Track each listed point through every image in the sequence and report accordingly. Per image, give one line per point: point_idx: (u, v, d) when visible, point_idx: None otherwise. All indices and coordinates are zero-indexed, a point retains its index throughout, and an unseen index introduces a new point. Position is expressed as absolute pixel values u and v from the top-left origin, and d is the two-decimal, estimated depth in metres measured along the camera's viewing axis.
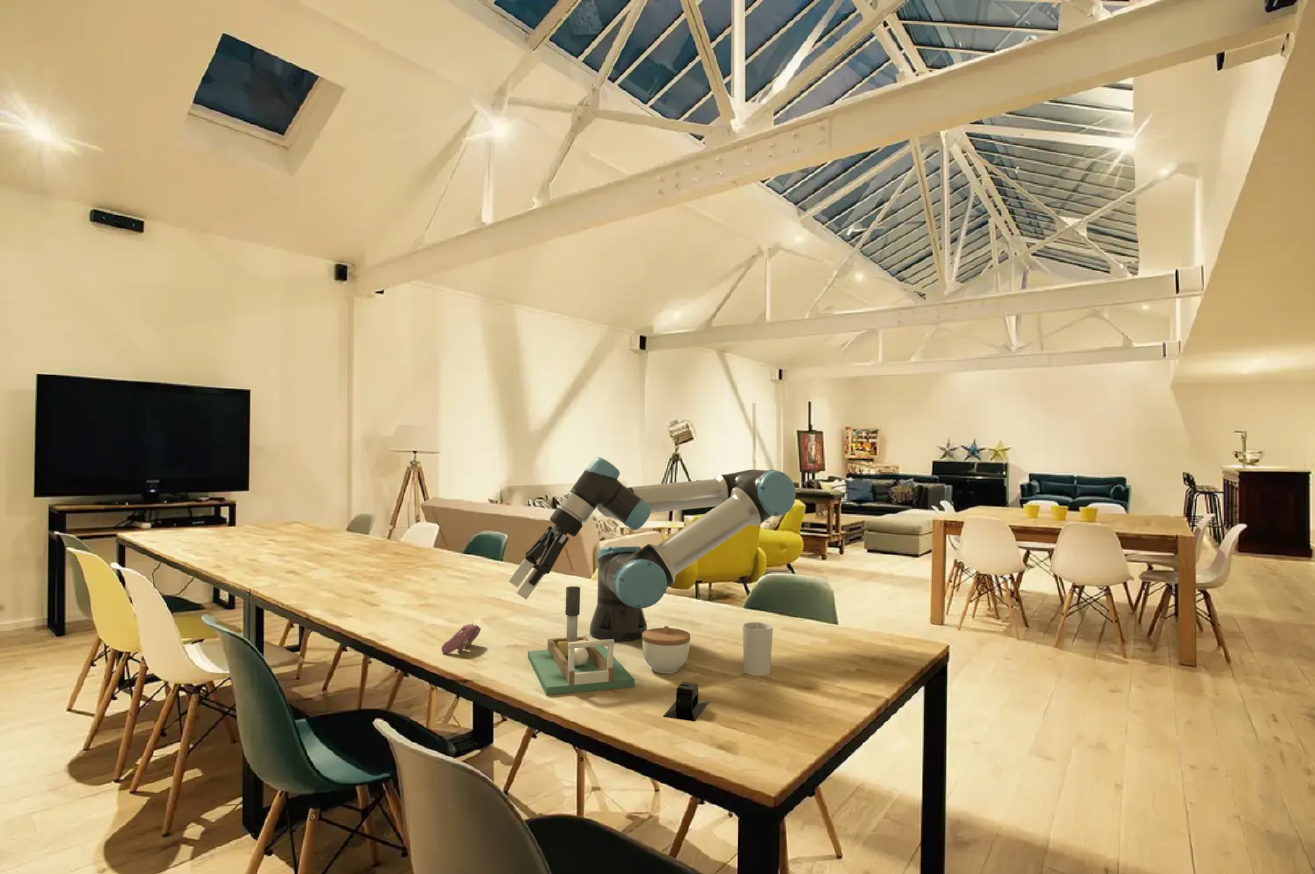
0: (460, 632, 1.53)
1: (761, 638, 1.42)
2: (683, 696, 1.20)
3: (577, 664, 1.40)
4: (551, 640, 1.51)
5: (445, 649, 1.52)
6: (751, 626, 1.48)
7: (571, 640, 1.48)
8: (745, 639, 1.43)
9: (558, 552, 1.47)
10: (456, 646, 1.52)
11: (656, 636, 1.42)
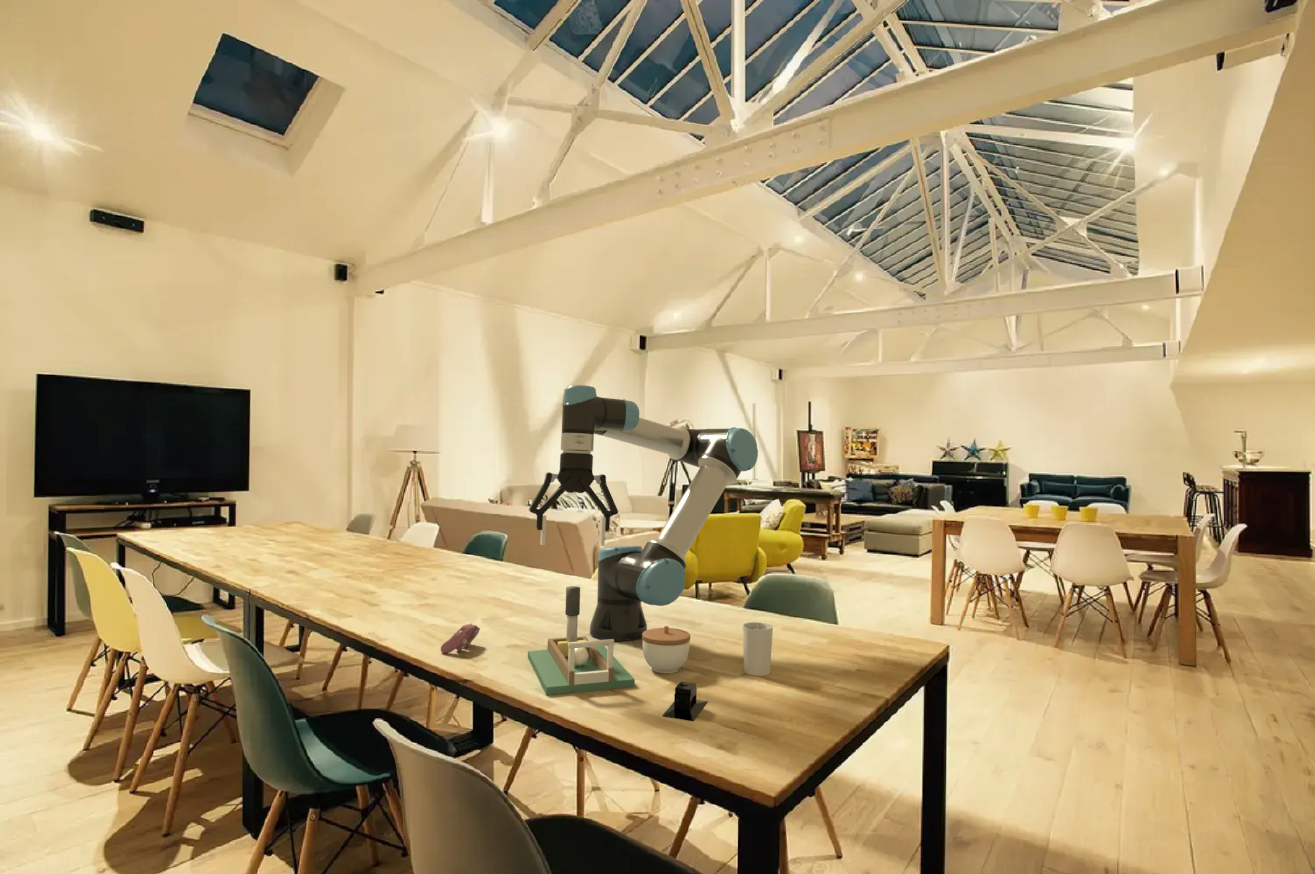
0: (459, 632, 1.53)
1: (760, 638, 1.42)
2: (681, 696, 1.20)
3: (577, 664, 1.40)
4: (551, 640, 1.51)
5: (444, 649, 1.52)
6: (751, 626, 1.48)
7: (571, 640, 1.48)
8: (745, 639, 1.43)
9: None
10: (455, 646, 1.52)
11: (656, 636, 1.42)
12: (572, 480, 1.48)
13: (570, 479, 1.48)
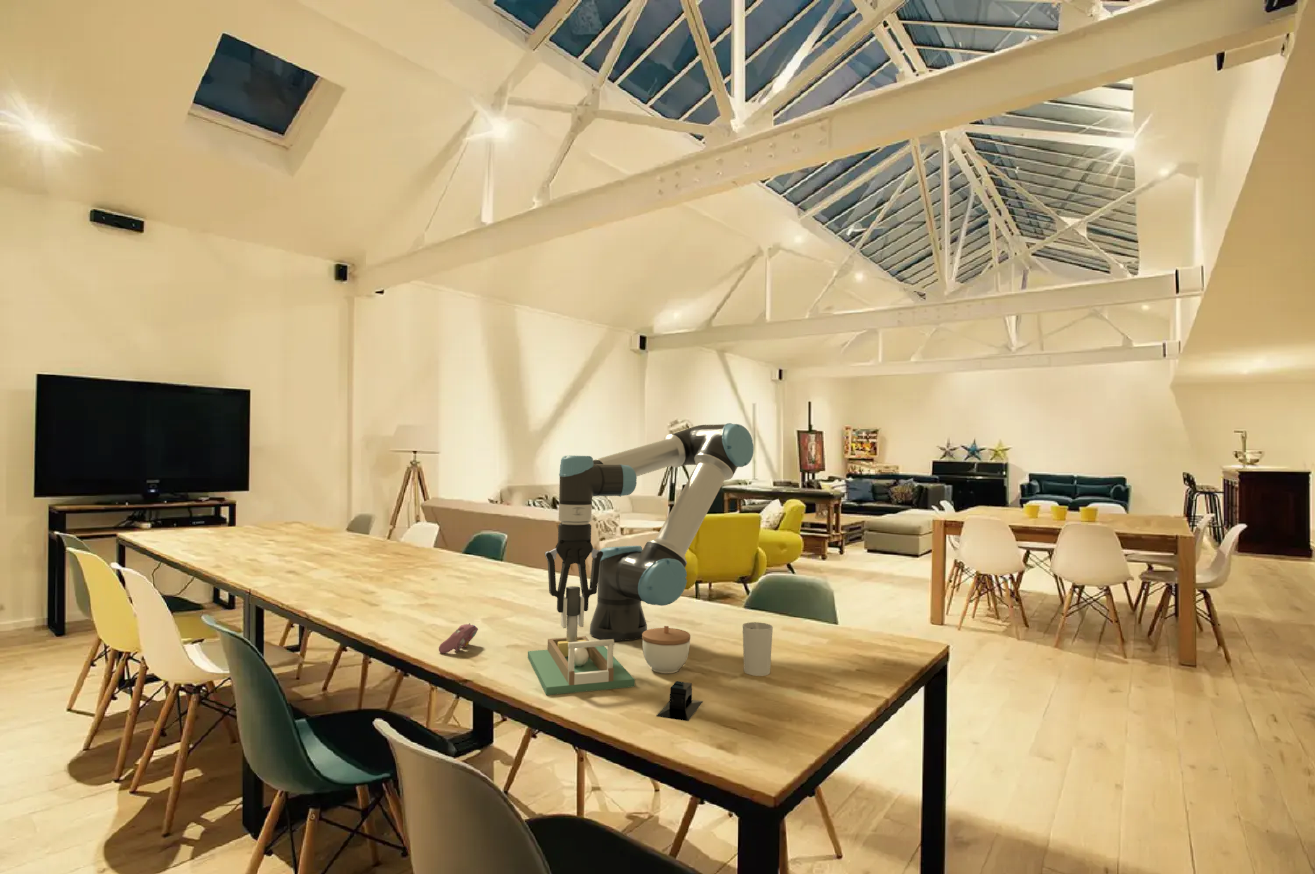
0: (457, 632, 1.53)
1: (760, 638, 1.42)
2: (676, 696, 1.20)
3: (577, 664, 1.40)
4: (551, 640, 1.51)
5: (442, 649, 1.52)
6: (751, 626, 1.48)
7: (571, 640, 1.48)
8: (745, 639, 1.43)
9: None
10: (453, 646, 1.52)
11: (656, 636, 1.42)
12: (571, 551, 1.47)
13: (569, 551, 1.47)
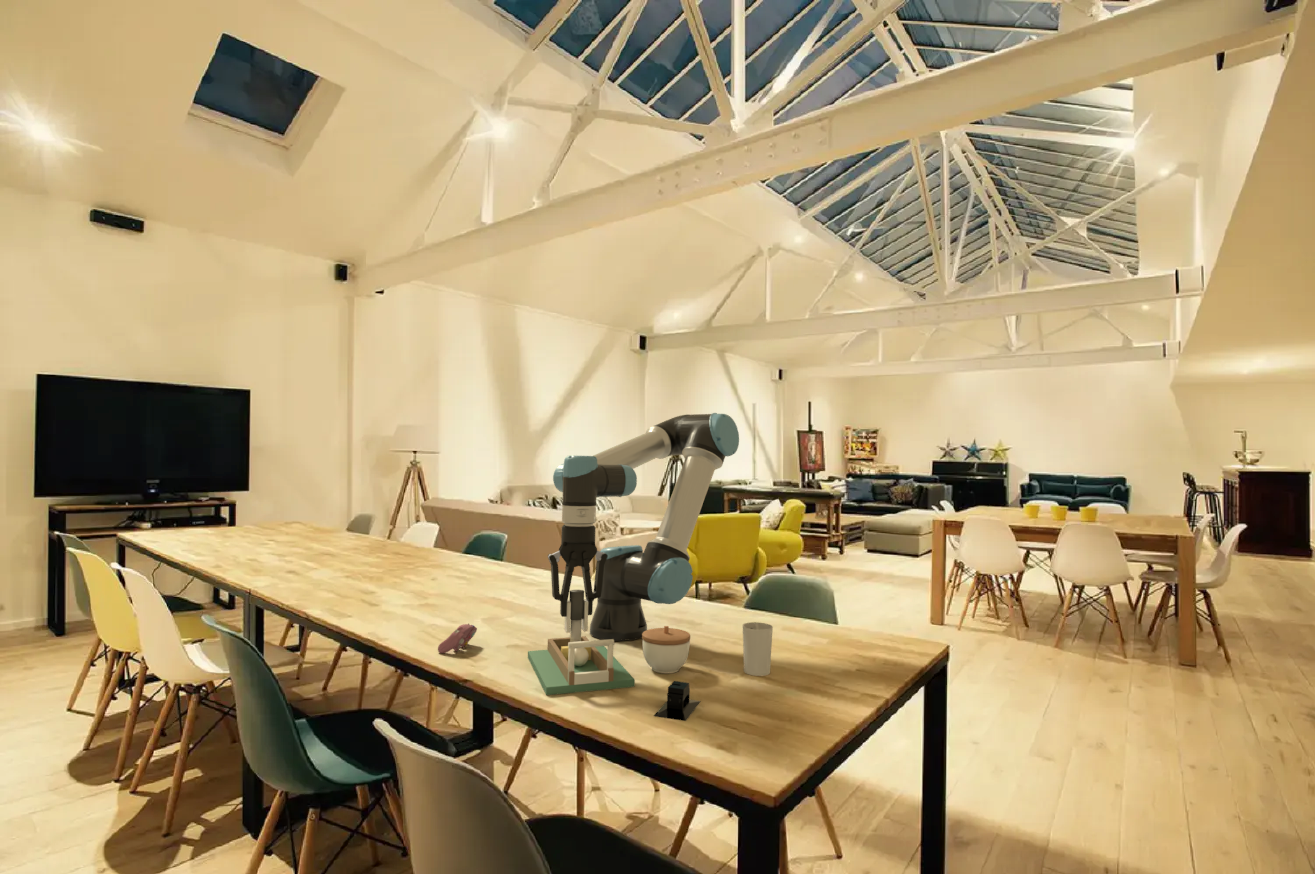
0: (456, 632, 1.53)
1: (760, 638, 1.42)
2: (674, 695, 1.20)
3: (577, 664, 1.40)
4: (551, 640, 1.51)
5: (441, 649, 1.52)
6: (751, 626, 1.48)
7: None
8: (745, 639, 1.43)
9: None
10: (452, 646, 1.52)
11: (656, 636, 1.42)
12: (575, 554, 1.44)
13: (572, 554, 1.43)
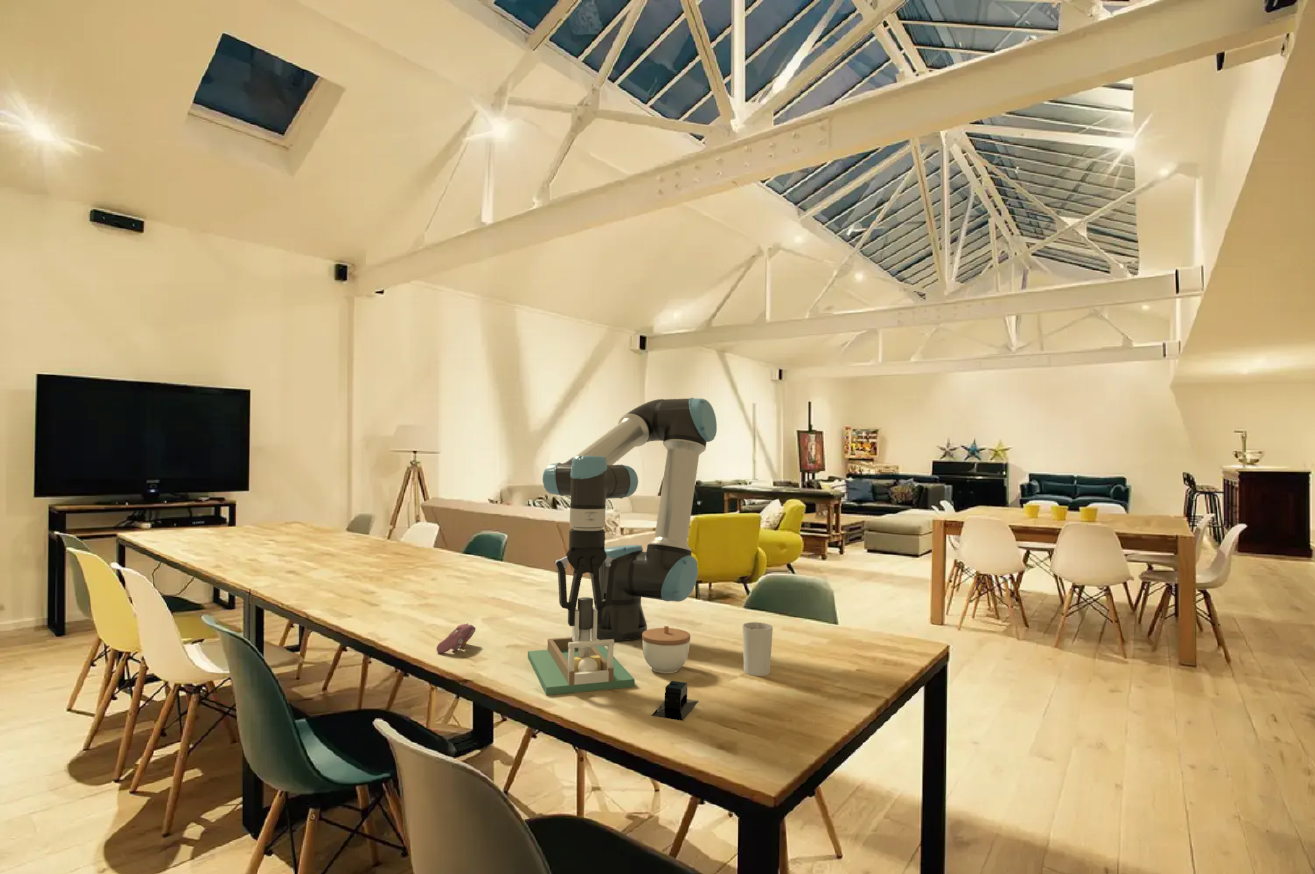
0: (455, 632, 1.53)
1: (760, 638, 1.42)
2: (671, 695, 1.20)
3: (585, 658, 1.33)
4: (551, 640, 1.51)
5: (440, 649, 1.52)
6: (751, 626, 1.48)
7: (583, 656, 1.36)
8: (745, 639, 1.43)
9: None
10: (451, 646, 1.52)
11: (656, 636, 1.42)
12: (583, 560, 1.36)
13: (581, 560, 1.35)
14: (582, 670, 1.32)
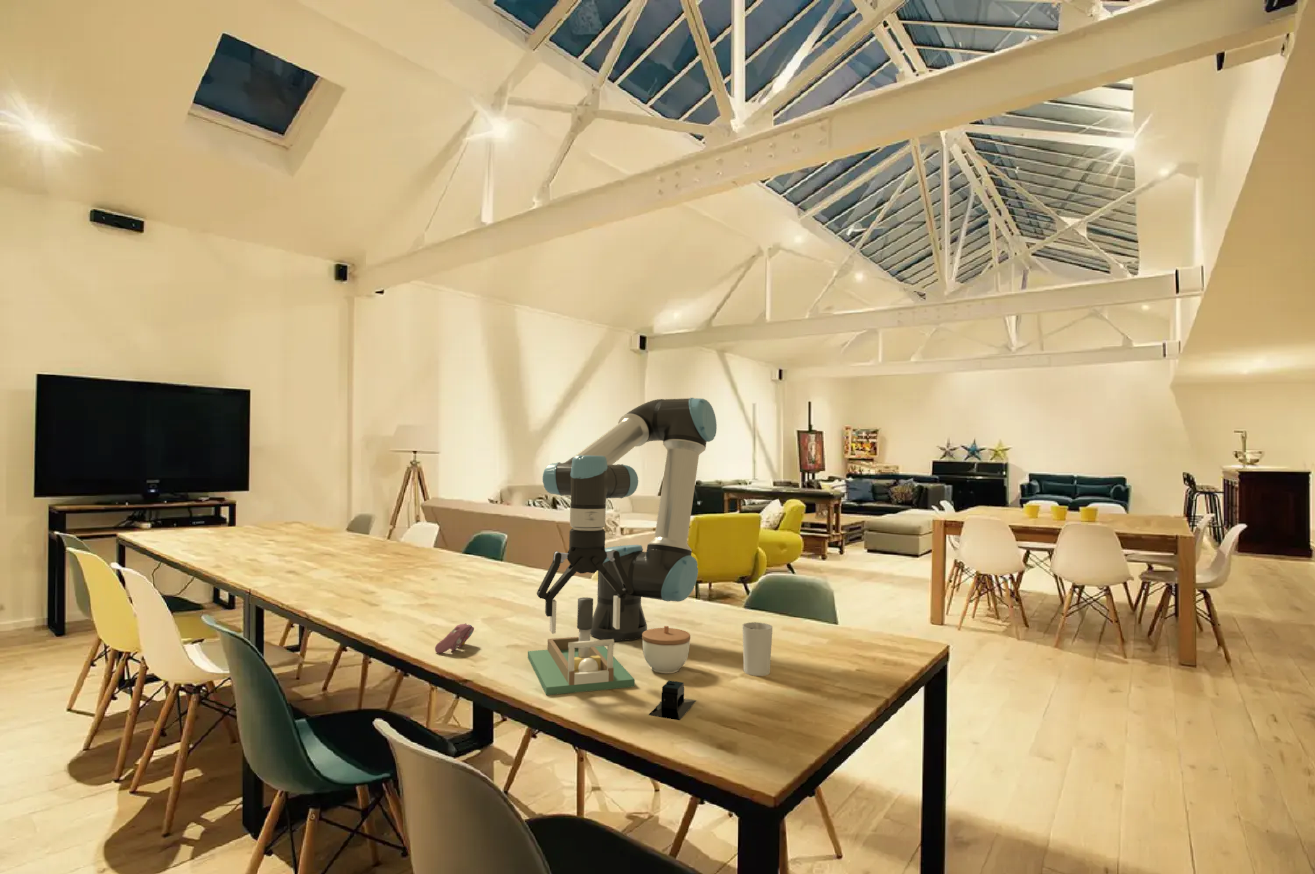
0: (453, 632, 1.53)
1: (760, 638, 1.42)
2: (668, 695, 1.20)
3: (586, 659, 1.33)
4: (551, 640, 1.51)
5: (438, 649, 1.52)
6: (751, 626, 1.48)
7: (583, 656, 1.36)
8: (745, 639, 1.43)
9: None
10: (449, 646, 1.52)
11: (656, 636, 1.42)
12: (584, 560, 1.35)
13: (581, 559, 1.35)
14: None
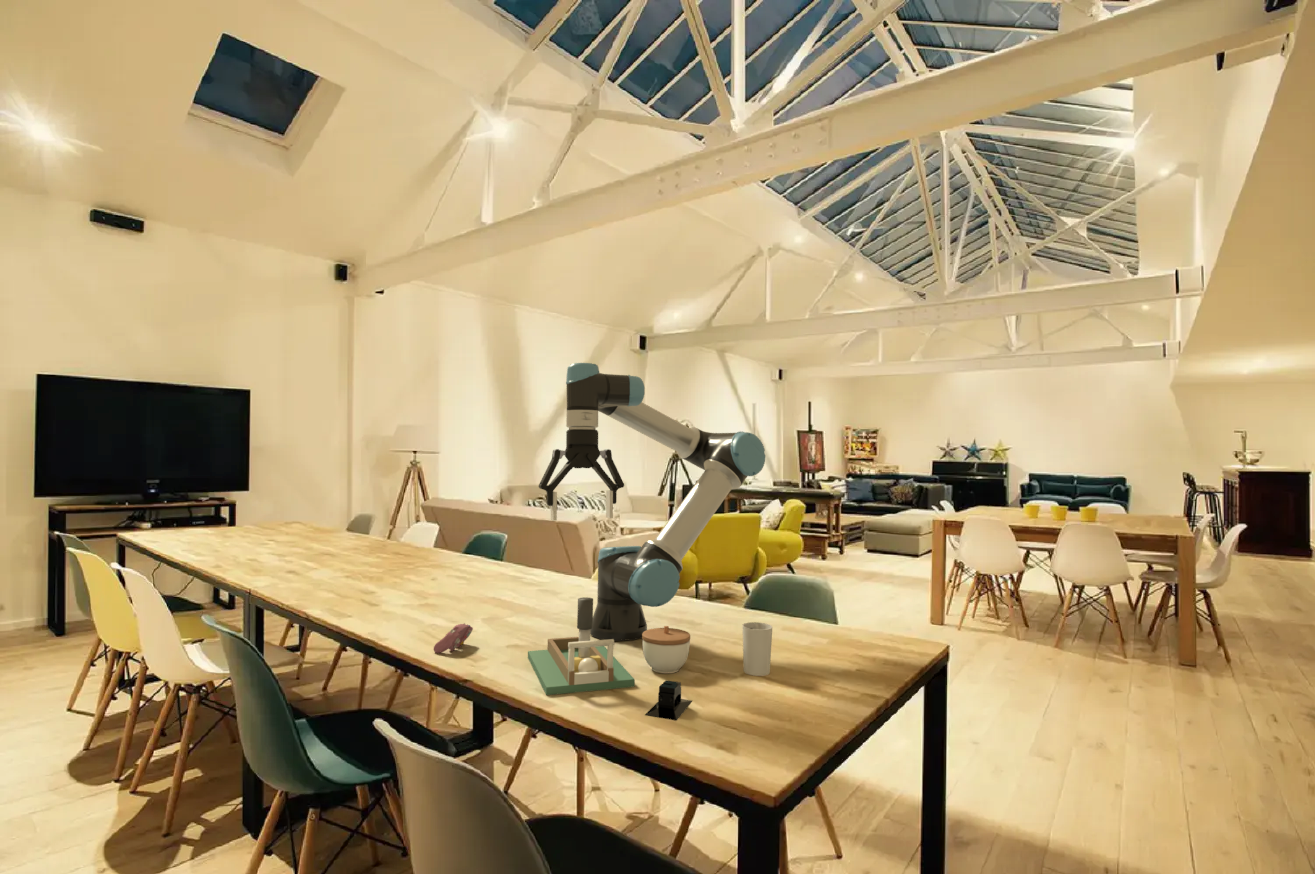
0: (452, 632, 1.53)
1: (760, 638, 1.42)
2: (665, 695, 1.20)
3: (585, 659, 1.33)
4: (551, 640, 1.51)
5: (437, 649, 1.52)
6: (751, 626, 1.48)
7: (583, 656, 1.36)
8: (745, 639, 1.43)
9: None
10: (448, 646, 1.52)
11: (656, 636, 1.42)
12: (580, 456, 1.52)
13: (578, 455, 1.52)
14: (582, 671, 1.31)
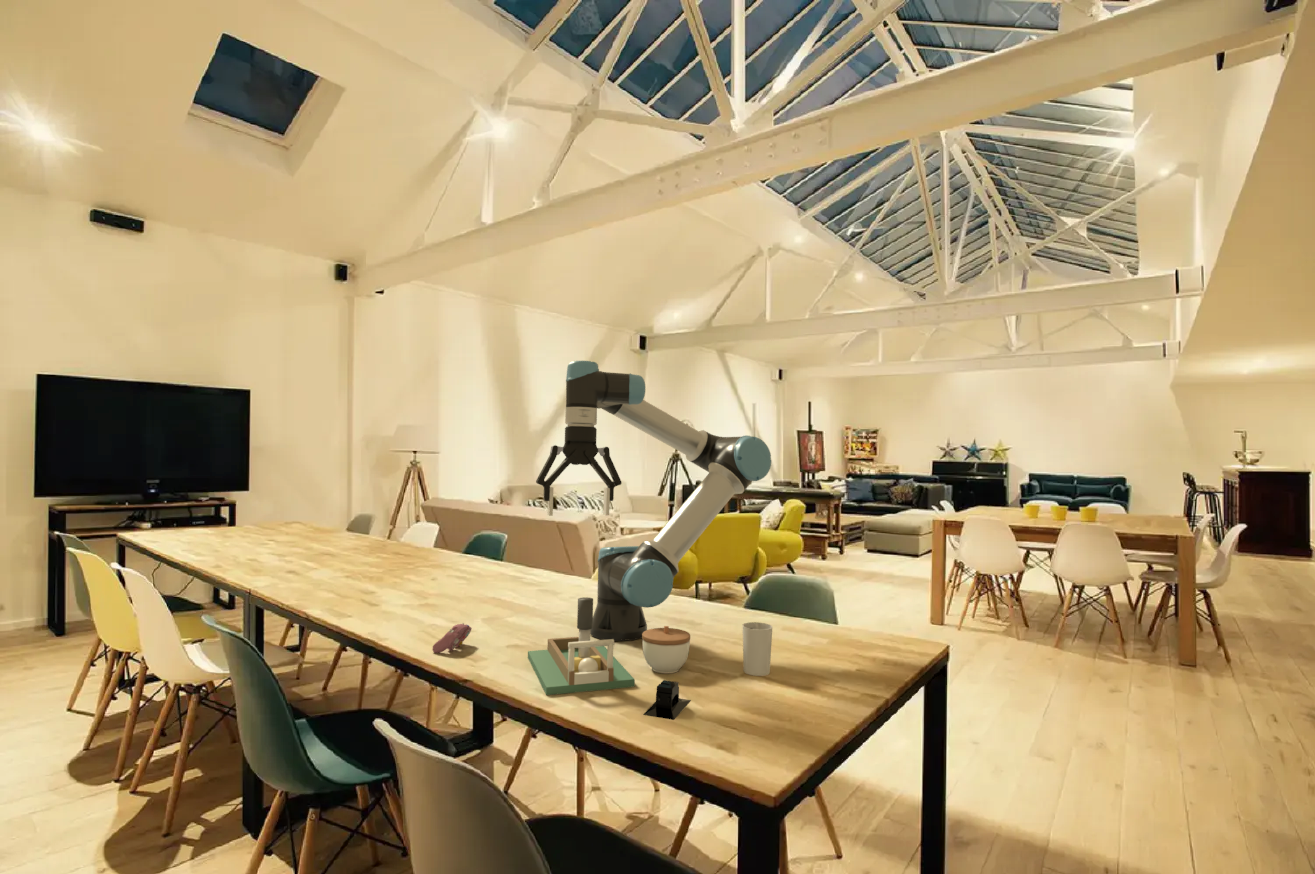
0: (451, 632, 1.53)
1: (760, 638, 1.42)
2: (663, 695, 1.20)
3: (585, 659, 1.33)
4: (551, 640, 1.51)
5: (436, 649, 1.52)
6: (751, 626, 1.48)
7: (583, 656, 1.36)
8: (745, 639, 1.43)
9: None
10: (447, 646, 1.52)
11: (656, 636, 1.42)
12: (577, 452, 1.54)
13: (575, 451, 1.54)
14: (582, 671, 1.32)
